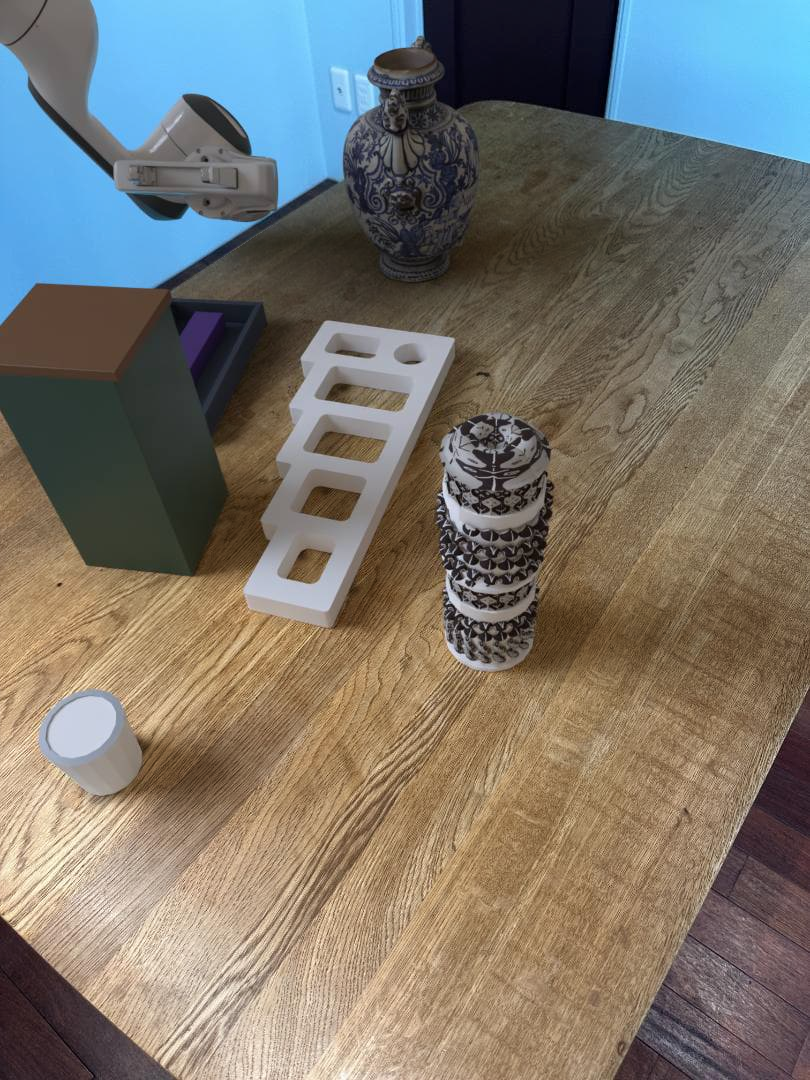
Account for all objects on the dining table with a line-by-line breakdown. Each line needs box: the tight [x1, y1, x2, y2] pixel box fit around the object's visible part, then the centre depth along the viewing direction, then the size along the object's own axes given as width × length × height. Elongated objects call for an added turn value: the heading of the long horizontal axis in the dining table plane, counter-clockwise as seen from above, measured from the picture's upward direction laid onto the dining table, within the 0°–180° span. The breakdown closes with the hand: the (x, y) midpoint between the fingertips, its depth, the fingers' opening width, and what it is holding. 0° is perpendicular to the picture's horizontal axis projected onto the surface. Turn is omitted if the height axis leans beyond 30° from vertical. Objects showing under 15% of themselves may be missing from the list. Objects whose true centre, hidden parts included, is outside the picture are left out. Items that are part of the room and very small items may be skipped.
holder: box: [242, 320, 456, 629], centre depth 93 cm, size 45×18×3 cm, turn 162°
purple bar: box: [180, 311, 227, 385], centre depth 105 cm, size 4×20×2 cm, turn 169°
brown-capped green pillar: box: [0, 282, 230, 577], centre depth 79 cm, size 13×12×26 cm
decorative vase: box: [342, 35, 480, 283], centre depth 111 cm, size 21×19×28 cm
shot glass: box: [37, 688, 143, 797], centre depth 68 cm, size 7×7×7 cm
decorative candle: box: [435, 411, 555, 673], centre depth 68 cm, size 9×9×25 cm
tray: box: [169, 297, 268, 438], centre depth 105 cm, size 14×26×4 cm, turn 170°
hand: (169, 173), depth 95 cm, fingers open, 8 cm apart
